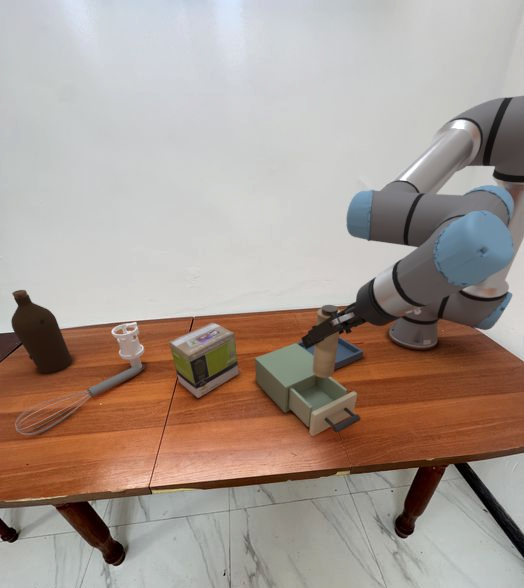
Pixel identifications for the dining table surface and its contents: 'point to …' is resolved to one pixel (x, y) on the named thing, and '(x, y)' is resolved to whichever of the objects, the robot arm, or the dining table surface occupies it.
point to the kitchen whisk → (91, 391)
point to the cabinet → (283, 372)
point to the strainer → (129, 344)
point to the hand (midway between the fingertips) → (314, 339)
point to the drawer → (323, 404)
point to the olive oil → (40, 334)
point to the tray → (341, 352)
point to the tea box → (205, 358)
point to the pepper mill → (325, 346)
